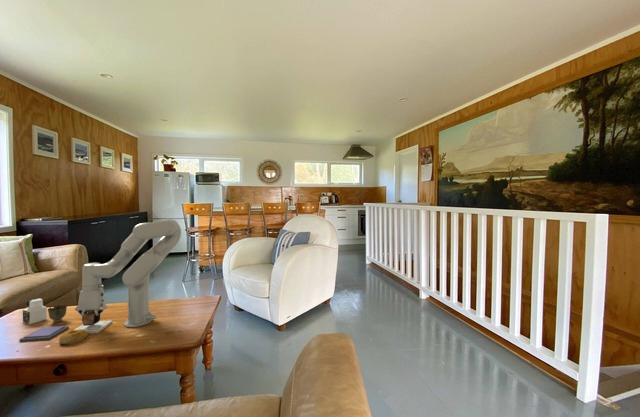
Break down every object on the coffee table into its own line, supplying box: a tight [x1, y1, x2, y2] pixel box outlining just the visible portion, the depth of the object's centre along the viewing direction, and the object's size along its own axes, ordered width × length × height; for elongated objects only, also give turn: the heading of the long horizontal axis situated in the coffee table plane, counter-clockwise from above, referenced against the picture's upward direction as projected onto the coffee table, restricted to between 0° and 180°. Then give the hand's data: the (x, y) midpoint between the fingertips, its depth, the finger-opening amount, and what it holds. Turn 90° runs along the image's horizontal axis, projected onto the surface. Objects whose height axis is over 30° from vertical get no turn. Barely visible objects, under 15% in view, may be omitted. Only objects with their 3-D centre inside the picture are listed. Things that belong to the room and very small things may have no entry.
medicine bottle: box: [22, 297, 48, 325], centre depth 146 cm, size 7×7×12 cm
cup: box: [47, 304, 68, 324], centre depth 146 cm, size 8×7×8 cm
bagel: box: [58, 329, 89, 345], centre depth 126 cm, size 10×11×5 cm
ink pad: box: [19, 325, 69, 343], centre depth 131 cm, size 12×12×2 cm
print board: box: [74, 319, 113, 335], centre depth 138 cm, size 12×12×1 cm
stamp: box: [82, 310, 96, 326], centre depth 138 cm, size 4×4×8 cm
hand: (91, 322), depth 138 cm, fingers closed on stamp, 4 cm apart
